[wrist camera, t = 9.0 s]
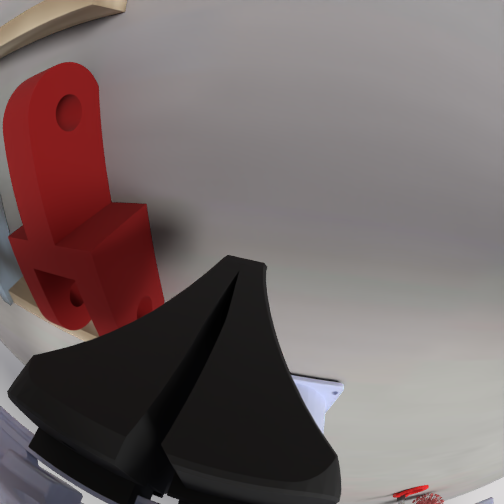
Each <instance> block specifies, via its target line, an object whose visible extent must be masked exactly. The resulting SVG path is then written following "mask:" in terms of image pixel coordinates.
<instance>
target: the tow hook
mask: <svg viewBox="0 0 504 504" xmlns="http://www.w3.org/2000/svg"><path fill="white" fill-rule="evenodd" d="M427 488H429V486H428V485H424V486H419V487H415V488H411V489H408V490H405V491H402V492H400V493H395V494H393V497H397V501H398V504H404V500H405V497H407V496H408V495H411V494H414V493H418V492H421V491H423V490H426V489H427ZM411 491H412V492H411Z"/></svg>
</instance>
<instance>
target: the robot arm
mask: <svg viewBox="0 0 504 504" xmlns="http://www.w3.org/2000/svg"><path fill="white" fill-rule="evenodd" d="M266 269H267V266H266V265H265V263H262V262H257V261H253V260H248V259H244V258H239V257H235V256H230V255H227V256H226V257H224V258H223V259H222V260H221V261H220V262H218V263H217V264H216V265H215V266H214V267H213V268H211V269H210V270H209V271H208V272H207V273H205V274H204V275H203V276H202V277H201V278H199V279H198V280H197V281H195V282H194V283H193V284H192V285H190V286H189V287H188V288H186V289H185V290H184V291H182V292H181V293H179V294H178V295H176V296H175V297H173V298H172V299H171V300H169V301H168V302H166V303H165V304H163V305H161V306H160V307H158V308H157V309H155V310H153V311H152V312H150V313H148V314H146V315H144V316H143V317H141V318H139V319H137V320H135V321H133V322H131V323H129V324H127V325H125V326H123V327H120V328H118V329H116V330H114V331H112V332H109V333H107V334H105V335H102V336H99V337H97V338H94V339H91V340H88V341H85V342H83V343H80V344H77V345H73V346H70V347H66V348H62V349H59V350H55V351H50V352H46V353H42V354H38V355H33V357H32V358H31V359H30V360H29V362H28V363H27V364H26V366H25V367H24V369H23V370H22V371H21V373H20V374H19V376H18V377H17V378H16V380H15V381H14V382H13V384H12V385H11V387H10V388H9V390H8V391H7V392H8V397H9V398H10V400H11V401H12V402H13V403H14V404H15V405H16V406H17V407H18V408H19V409H20V410H21V411H22V412H23V413H24V414H25V415H26V416H27V417H28V418H29V419H30V420H31V421H32V422H33V423H35V424H36V425H37V426H38V427H39V428H38V430H37V432H36V433H35V435H34V434H33V433H32V432H30V431H29V430H28V429H27V428H25V427H24V426H23V425H22V424H20V423H19V422H18V421H17V420H16V419H15V418H13V417H12V416H11V415H10V414H9V413H8V412H6V410H4V409H3V408H2V407H1V406H0V504H83V503H81V499H82V497H83V496H82V494H81V493H80V492H79V491H77V490H76V489H74V488H73V487H72V486H70V485H69V484H67V483H66V482H64V481H63V480H61V479H59V478H58V477H56V476H54V475H53V474H51V473H49V472H48V471H46V470H44V469H43V468H41V467H39V465H38V460H40V461H41V462H42V463H43V464H45V465H46V466H48V467H49V468H50V469H52V470H53V471H55V472H56V473H57V474H59V475H60V476H62V477H64V478H65V479H66V480H68V481H70V482H71V483H73V484H74V485H76V486H78V487H79V488H81V489H83V490H84V491H86V492H88V493H90V494H91V495H93V496H95V497H97V498H99V499H101V500H103V501H104V502H106V503H108V504H159V503H156V502H154V501H151V500H150V499H151V497H152V494H153V495H155V496H158V497H161V498H162V497H163V495H164V494H166V493H167V495H168V496H170V497H173V498H176V499H179V503H178V504H336V503H338V502H339V501H340V495H341V475H340V467H339V461H338V456H337V454H336V453H335V451H334V450H333V448H332V447H331V446H330V444H329V443H328V441H327V440H326V438H325V437H324V421H325V413H326V412H327V410H328V409H329V408H330V407H331V405H332V404H333V403H334V402H335V400H336V399H337V398H338V397H339V395H340V394H341V393H342V391H343V390H344V384H342V383H339V382H332V381H325V380H318V379H312V378H306V377H300V376H294V375H291V374H290V371H289V369H288V367H287V364H286V362H285V359H284V356H283V354H282V351H281V348H280V345H279V342H278V339H277V336H276V332H275V329H274V325H273V321H272V317H271V313H270V307H269V302H268V296H267V288H266ZM37 459H38V460H37ZM476 504H493V498H492V497H491V498H488V499H486V500H483V501H481V502H479V503H476Z"/></svg>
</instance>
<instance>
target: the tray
mask: <svg viewBox="0 0 504 504" xmlns="http://www.w3.org/2000/svg"><path fill="white" fill-rule="evenodd" d="M126 3H127V0H45V1H43V2H41V3H39V4H37V5H35V6H34V7H32V8H30V9H28V10H27V11H25V12H23V13H22V14H20V15H18V16H17V17H15V18H14V19H12V20H10V21H9V22H7V23H6V24H4V25H3V26H2V27H0V58H2V57H4V56H6V55H8V54H10V53H11V52H13V51H15V50H17V49H19V48H21V47H23V46H25V45H28V44H30V43H32V42H34V41H36V40H39V39H41V38H43V37H46V36H48V35H51V34H53V33H56V32H58V31H61V30H64V29H66V28H69V27H72V26H75V25H78V24H81V23H84V22H88V21H91V20H94V19H98V18H102V17H105V16H109V15H113V14H118V13H122V12H125V8H126ZM9 235H10V232H9V229H8V225H7V221H6V217H5V213H4V209H3V205H2V200H1V196H0V294H1V297H2V299H3V301H5V302H6V303H8V304H9V305H12V303H13V302H14V303H16V304H17V305H19V306H20V307H22V308H24V309H25V310H27V311H29V312H30V313H32V314H34V315H36V316H37V317H39V318H41V319H43V320H44V321H46V322H48V323H50V324H52V325H54V326H55V327H57V328H59V329H61V330H63V331H65V332H67V333H69V334H71V335H73V336H75V337H77V338H79V339H81V340H83V341H88V340H91V339H94V338H97V337H99V334H98V332H97V330H96V328H95V326H94V324H93V322H92V320H91V321H90V322H89V323H88V324H87V325H86V326H85V327H83V328H82V329H79V330H74V331H73V330H68V329H66V328H63V327H61V326H59V325H56V324H54V323H52V322H50V321H48V320H47V319H46V318H45V317H44V316H43V315H42V313H41V312H40V310H39V308H38V306H37V304H36V302H35V300H34V298H33V296H32V294H31V292H30V290H29V288H28V285H27V283H26V281H25V279H24V277H23V274H22V272H21V270H20V267H19V265H18V262H17V260H16V257H15V255H14V252H13V250H12V247H11V244H10V242H9V239H8V236H9Z"/></svg>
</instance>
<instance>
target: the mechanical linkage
mask: <svg viewBox="0 0 504 504" xmlns="http://www.w3.org/2000/svg"><path fill="white" fill-rule="evenodd" d="M3 136H4V143H5V150H6V156H7V162H8V167H9V172H10V177H11V182H12V186H13V190H14V194H15V198H16V202H17V206H18V210H19V213H20V217H21V220H22V223H23V226H21V227H20V228H19V229H17V230H16V231H15V232H13V233H12V234H11V235H9V236H8V239H9V242H10V244H11V247H12V250H13V252H14V255H15V257H16V260H17V262H18V265H19V267H20V270H21V272H22V274H23V277H24V279H25V281H26V283H27V285H28V288H29V290H30V292H31V294H32V296H33V298H34V300H35V302H36V304H37V306H38V308H39V310H40V312H41V313H42V315H43V316H44V317H45V318H46V319H47V320H48V321H50V322H52V323H54V324H56V325H59V326H61V327H63V328H66V329H68V330H73V331H74V330H79V329H82V328H83V327H85V326H86V325H87V324H88V323H89V322H90V321H91V320H92V322H93V324H94V326H95V328H96V330H97V332H98V334H99V336H102V335H105V334H107V333H109V332H112V331H114V330H116V329H118V328H120V327H123V326H125V325H127V324H129V323H131V322H133V321H135V320H137V319H139V318H141V317H143V316H144V315H146V314H148V313H150V312H152V311H153V310H155V309H157V308H158V307H160V306H161V305H163V304H164V297H163V292H162V288H161V283H160V278H159V274H158V269H157V264H156V259H155V253H154V248H153V242H152V237H151V231H150V225H149V218H148V212H147V205H146V204H138V203H117V202H111V196H110V191H109V185H108V178H107V172H106V165H105V157H104V149H103V140H102V131H101V119H100V105H99V86H98V84H97V82H96V80H95V78H94V76H93V75H92V74H91V72H90V71H89V70H88V69H86V68H85V67H84V66H82V65H80V64H78V63H74V62H65V63H61V64H58V65H56V66H53V67H51V68H49V69H47V70H45V71H43V72H41V73H39V74H37V75H35V76H33V77H31V78H29V79H27V80H26V81H24V82H23V83H22V84H21V85H19V86H18V87H17V89H16V90H15V91H14V93H13V94H12V96H11V97H10V99H9V101H8V104H7V106H6V109H5V113H4V118H3Z"/></svg>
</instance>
